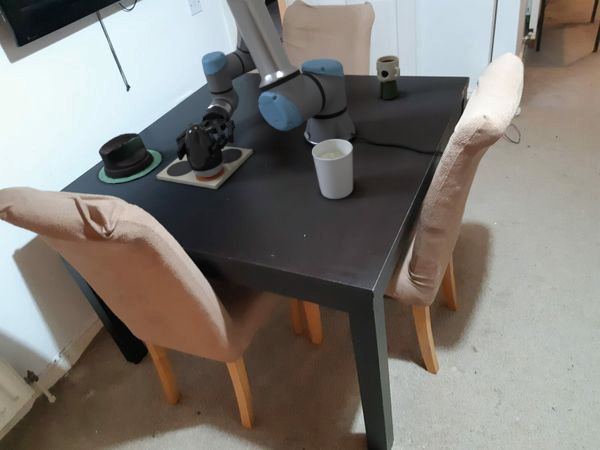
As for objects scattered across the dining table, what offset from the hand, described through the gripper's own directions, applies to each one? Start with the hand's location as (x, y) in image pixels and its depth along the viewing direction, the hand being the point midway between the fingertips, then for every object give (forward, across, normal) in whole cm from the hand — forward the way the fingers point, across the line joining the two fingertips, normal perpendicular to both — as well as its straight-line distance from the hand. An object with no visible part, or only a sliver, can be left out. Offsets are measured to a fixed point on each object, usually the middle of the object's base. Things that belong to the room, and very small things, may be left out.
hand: (196, 154), depth 118 cm
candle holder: (+6, -37, -10) cm, 39 cm away
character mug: (-48, -53, -10) cm, 72 cm away
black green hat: (-14, +30, -10) cm, 35 cm away
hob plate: (-11, +3, -10) cm, 15 cm away
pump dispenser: (-4, 0, -9) cm, 10 cm away
